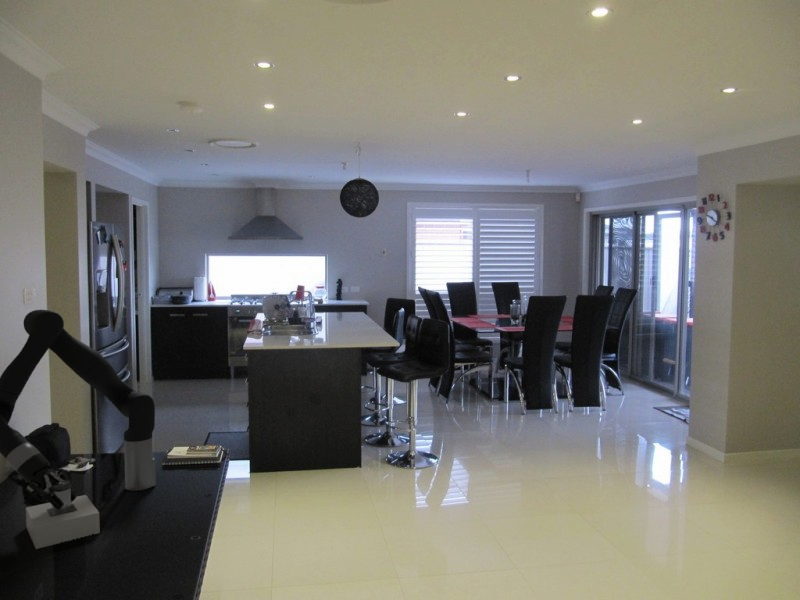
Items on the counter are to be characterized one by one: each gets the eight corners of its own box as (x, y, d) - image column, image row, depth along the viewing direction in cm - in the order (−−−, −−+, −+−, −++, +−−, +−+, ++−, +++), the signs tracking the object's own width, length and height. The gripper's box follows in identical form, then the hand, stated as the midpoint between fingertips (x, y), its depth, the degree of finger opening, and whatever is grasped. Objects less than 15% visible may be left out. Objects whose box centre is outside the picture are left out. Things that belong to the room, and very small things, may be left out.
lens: (70, 512, 181) (69, 479, 180) (73, 517, 177) (72, 484, 176) (50, 516, 178) (49, 483, 177) (53, 522, 174) (52, 488, 173)
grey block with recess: (86, 513, 189) (85, 494, 189) (99, 532, 175) (99, 512, 175) (26, 527, 180) (25, 507, 179) (35, 549, 165) (35, 527, 165)
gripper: (18, 460, 170) (59, 504, 169) (52, 445, 184) (91, 486, 184) (1, 478, 171) (42, 522, 170) (37, 462, 185) (75, 502, 184)
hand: (67, 503), depth 177 cm, fingers closed on lens, 5 cm apart
